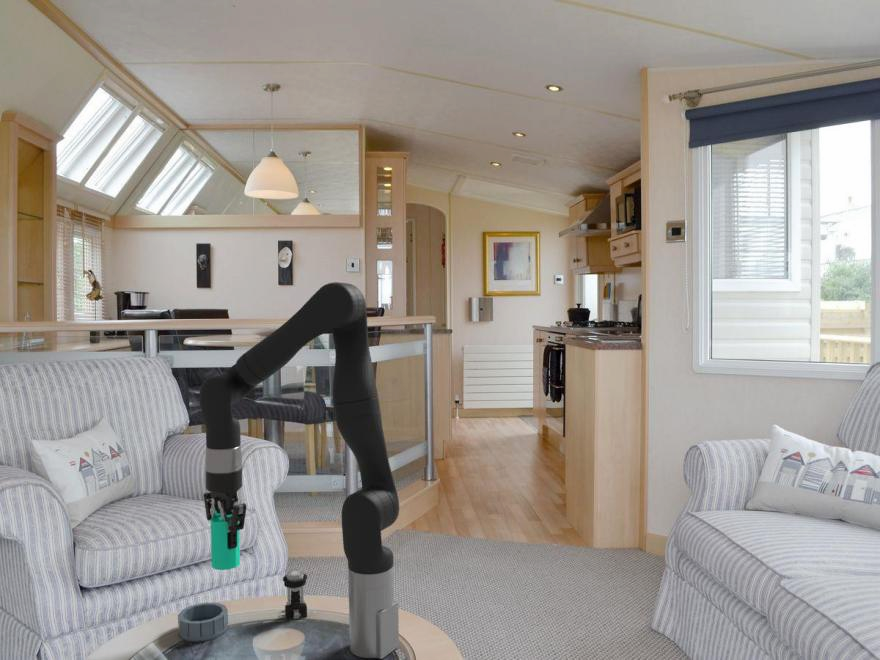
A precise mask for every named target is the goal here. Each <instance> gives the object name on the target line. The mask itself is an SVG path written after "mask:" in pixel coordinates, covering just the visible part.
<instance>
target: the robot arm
mask: <svg viewBox="0 0 880 660" xmlns="http://www.w3.org/2000/svg"><path fill="white" fill-rule="evenodd" d="M366 301H367V300H366V299H365V296H364V294H363V292H362V291H361V289H359V288H358V287H357V286H355V285H354V284H351V283H346V282H336V281H335V282H328V283H327V284H323V286H321V287H320V288H319V289H318V290H316V292H315V293H314V294H313V295H312V296H311V297H310V298H308V300H307V301H306V302H305V303H304V304H303V305H302V306H301V308H299V310H298V311H297V312H295V313H294V314H293V315H292V316H291V317H290V318H289V319H287V320H286V322H284V323H283V324H282V325H281V326H279V327H278V328H277V329H275V330H274V331H273V332H272V333H270V334H268V335H267V336H266V337H265V338H263V339H262V340H260V341H259V342H258V343H256V344H255V345H253V346H252V347H251V348H249V349H248V350H247V351H246V352H244V353H243V354H241V356H240V357H238V358H237V360H236V362H235V363H234V364H233V365H232V366H231V367H229V368H228V369H226V370H225V371H223V372H221V373H219V374H214V375H210V376H208V377H206V379H205V380H203V382H202V383H201V385H200V388H199V393H198V399H199V407H200V411H201V414H202V418H203V422H204V425H205V444H206V445H205V458H204V462H205V464H204V465H205V471H204V472H205V490H206V491H207V492H205V493H204V492H203V500H204V501H203V503H204V507H205V513H206V514H205V516H206V520H207V521H211V518H212V517H214V518H217V517H218V516H221V517H222V521H224V522H226V531H227V548H228V549H233V548H236V547H237V531H238V530H239V531H240V530H244V527H245V520H246V513H247V504H246V503H240V502H239V497H238V491H239V490H241V488H242V487H243V453H242V449H241V448H242V446H241V441H242V439H241V438H242V437H241V426H240V425H241V424H240V421H239V419H238V418H236V417H234V416H233V410H232V405H234V404H236V403H238V402H239V401H241V400H242V399H244V398H245V397H246V396H248V395H249V394H250V392H252V391H253V390H255V388H256V387H257V386H258V385H260V384H261V383H263V382H264V381H266V380H268V379H269V378H270V377H272V376H273V375H274V374H276V373H277V372H279V370H281V369H283V368H284V367H285V366H286V365H287V364H288V363H289V362H290V361H291V360H292V359H294V357H295V356H296V355H297V353H299V351H300V350H302V349H303V348H304V347H305V346H306V345H307V344H309V343H310V342H311V341H313V340H314V339H316V338H318V337H320V336H321V335H323V334H326V333H327V332H330V331H331V335H332V338H333V344H334V351H335V360H334V361H335V364H334V371H333V378H332V392H331V394H332V403H333V404H332V405H333V410H334V417H335V422H336V426H337V429H338V431H339V433H340V435H341V437H342V439H343V440H344V441H345V443H346V444H347V446H348V448H349V449H350V450H351V452H352V454H353V456H354V457H355V460H356V462H357V464H358V469H359V474H360V475H359V476H360V480H361V481H360V482H361V489H359V490H356V491H354V492H353V493H351V494H349V495H348V496H347V497H346V498H345V499H344V501H343V504H342V508H341V532H342V544H343V552H344V555H345V558H346V560H347V573H348V575H347V576H348V577H347V578H348V582H347V583H348V587H347V588H348V618H349V619H348V620H349V628H348V629H349V650H350V653H352V654H353V655H354V656H356V657H359V658H364V659H379V660H381V659H384V658H385V657H386V656H388V655H389V654H391V653H393V651H395V650H397V649H398V648H399V647H400V643H399V642H400V640H399V639H400V638H399V637H400V634H399V633H400V631H399V629H400V628H399V627H400V626H399V622H400V621H399V602H398V601H395V591H394V590H395V589H394V588H395V587H394V586H395V583H394V579H395V578H394V575H395V574H394V553H393V551H392V550H391V549H390V547H388V546H384V545H383V543H382V540H383V539H382V531H384V530H386V529H387V528H389V527H391V526H392V525H393V524H395V522H396V521H397V520H398V518H399V517H398V516H399V512H400V502H399V495H398V491H397V488H396V484H395V480H394V477H393V473H392V469H391V465H390V461H389V456H388V452H387V451H388V450H387V445H386V439H385V433H384V427H383V422H382V412H381V406H380V399H379V394H378V389H377V384H376V377H375V372H374V367H373V362H372V361H373V360H372V357H371V352H370V346H369V345H370V344H369V330H368V312H367V303H366ZM230 514H232V516H230V517H227V516H226V515H230ZM230 520H231V526H230ZM238 521H239V524H238Z"/></svg>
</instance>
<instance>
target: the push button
mask: <svg viewBox="0 0 880 660" xmlns="http://www.w3.org/2000/svg"><path fill="white" fill-rule="evenodd" d="M307 579H308V574H306V573H305V572H303V570H300V569H293V570H289V571H287V572H286V574H285V575H284V576H283V577H282V581H283V585H284V587H285V588H286V590H287V591H286V594H287V596H286V597H287V601H286V604H285V605H284V610H283V609H282V610H279V611H277V613H278V614H279V615H277V617H278V618H282V617H283V618H284V617H285V619H286V620H290V619H299V618H307V617H308V606H307V602H306V600H305V598H304V592H305V591H304V586H305V585H306V583H307Z"/></svg>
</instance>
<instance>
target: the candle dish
mask: <svg viewBox="0 0 880 660" xmlns="http://www.w3.org/2000/svg"><path fill="white" fill-rule="evenodd" d="M228 612H229V611H228V608H227V606H226V605H225V604H223V603H220V602H201V603H196V604H195V603H194V604H193V605H190V606H188V607H185V608H183V609H182V610H181V611H179V613H178V614H177V624H178V625H177V626H178V627H177V628H178V635H180V636H179V638H180V637H181V638H182V640H183V639H184V641H186V642H193V643H199V642H201V643H202V642H206V641H210V640H214V639H217V638H218V637H220V636H222V635H224V634H225V633H226V632H227V630H228V624H229V616H228V614H229V613H228ZM181 638H180V639H181Z"/></svg>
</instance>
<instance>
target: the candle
mask: <svg viewBox="0 0 880 660" xmlns="http://www.w3.org/2000/svg"><path fill="white" fill-rule="evenodd" d="M226 516H227V517H230V516H232V514H230V515H226ZM238 524H239V521H238ZM230 526H231V520H230ZM240 540H241V539H240V530H238V531H237V547H236V548H233V549H228V548H227V531H226V522H224V521H222V517H221V516H218V517H217V518H214V517H212V518H211V520H210V543H211V544H210V549H211V552H210V554H211V556H210V557H211V568H212V569H214V570H218V571H219V570H220V571H224V570H225V571H228V570H232V569H236V568H237V567H238V566H239V567H240V565H241V550H240V548H241V547H240V546H241V541H240Z"/></svg>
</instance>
